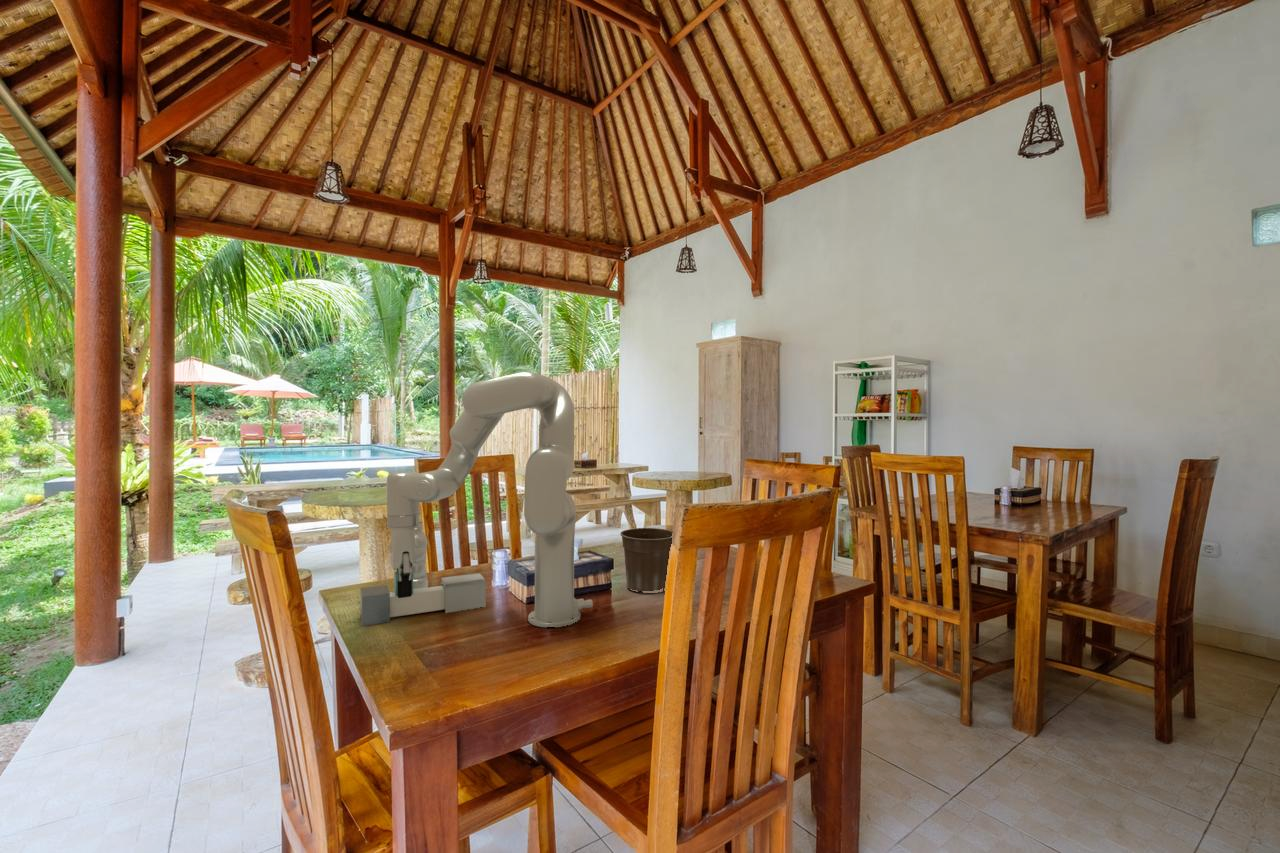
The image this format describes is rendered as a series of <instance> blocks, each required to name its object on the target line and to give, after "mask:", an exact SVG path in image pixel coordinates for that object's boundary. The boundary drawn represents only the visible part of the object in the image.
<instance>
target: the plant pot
mask: <svg viewBox="0 0 1280 853" xmlns="http://www.w3.org/2000/svg"><path fill="white" fill-rule="evenodd" d="M673 532H674V531H673V530H670V529H665V528H656V527H639V528H636V527H635V528H630V529H625V530H621V532H620V536H621V539H622V540H621V542H622V548H623V552H624V563H625V575H626V578H625V579H626V588H627V587H628V588H630V589H632V590H637V591H654V590H660V589H662V588H663V592H662V593H664V592H665V591H664V588H665V581H666V575H667V565H668V559H669V551H670V547H671V544H672V537H671V536H672V533H673ZM628 588H627V589H628Z"/></svg>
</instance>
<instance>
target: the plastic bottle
mask: <svg viewBox="0 0 1280 853" xmlns="http://www.w3.org/2000/svg"><path fill="white" fill-rule="evenodd" d="M423 525H424V524H423V522H422V521H420V526H419V527H417V528H415V563H414V567H413V568H411V571H412V572H413V589H420V588H428V587H429V579H428V574H427V552H428V551H427V550H428V543H429V542H428V541H429V540H428V537H427V535H426V534H425V533H424V531H423V529H424V527H423Z"/></svg>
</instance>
